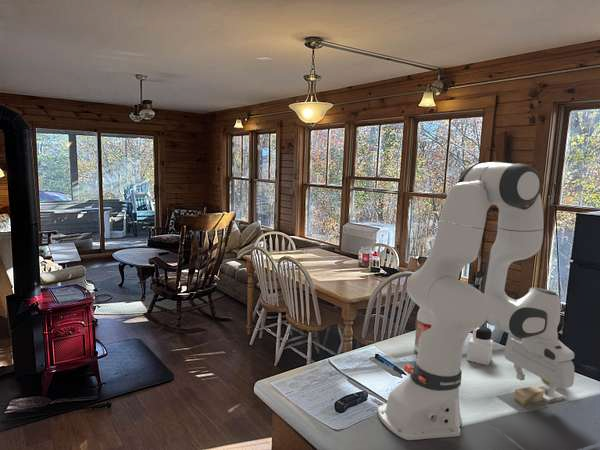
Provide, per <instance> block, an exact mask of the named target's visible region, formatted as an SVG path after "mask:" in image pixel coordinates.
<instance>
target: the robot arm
mask: <svg viewBox="0 0 600 450" xmlns="http://www.w3.org/2000/svg"><path fill="white" fill-rule="evenodd" d="M541 188H542V181H541V177H540V175H539V173H538V171H537V170H536V169H535V167H533V166H530V165H528V164H525V163H518V162H517V163H513V162H512V163H511V162H510V163H509V162H502V161H490V162H489V161H488V162H476V163H472V164H469V165H468V166H466V167H465V168H464V169H463V170H462V172H461V173H460V176H459V178H458V181H457V183H455V184H453V185H452V186H451V187H450V189H449V191H448V192H447V194H446V198H445V200H444V203H443V205H442V209H441V212H440V215H439V220H438V224H437V229H436V232H435V236H434V242H433V245H432V247H431V250H430V253H429V254H428V257H427V258H426V259H425V262H424V263H423V265H422V266H420V268H419V269H418V270H416V271H414V272H413V273H411V275H410V276H409V278H408V279H407V281H406V293H407V295H408V297H409V298H410V299H411V300H412V301H413V302H414V303H415V304H416V305H417V306H418V307H419V308H420V307H421V308H423V309H425V310H427V311H428V312H430V313H432V314H433V323H432V326H431V328H430V329H428V330H426V331H424V332H423V333H422V334H421V335H420V337H419V346H418V352H417V360H416V361H415V363H414V365H413V366H411V365H410V364H408V363H407V364H404V366H403V371H404V372H405V373H407V374H408V375H409V377H407V378H406V379H405V380H404V381H402V382H401V383H400V384H398V385H397V386H396V387H395V388H394V389H393V390H391V391H390V393H389V395H388V398H387V401H386V403H385V404H382V405H379V406H378V407H377V415H378V417H379V420H380V421H381V422H382V423H383V424H384V426H385V427H387V428H388V429H389V430H390V431H391V432H392V433H393V434H395V435H396V436H398V437H399V438H402V439H404V440H406V441H414V440H416V441H417V440H427V439H439V438H451V437H460V436H461V428H460V427H461V425H462V421H463V420H462V416H461V411H460V410H461V409H460V389H459V388H460V386H461V384H462V369H461V365H462V358H463V351H464V350H463V349H464V345H465V342H466V340H467V338H468V336H469V335H470V333H471V332H473V330H474V329H477V328H479V327H480V326H484V324H485V323H486V324H488V325H491V326H493V327H496V328H497V329H500V330H501V331H503V332H504V333H507V342H506V343H505V348H504V351H503V352H504V354H503V355H504V358H505V360H507V361H508V362H510V363H512V364H513V368H514V370H515V372H516V377H515V378H516V379H517V380H519V381H520V382H521V381H525V378H526V377H525V376H526V374H525V373H524V372H523V369H524V370H525V371H527V372H529V373H532V374H533V375H535V376H537V377H538V378H540V379H541V378H542V379H544V380H546V381H548V382H549V384H548V387H549V386H550V387H549V388H548V389H547V388H546V389H545V395H547V396H549V397H552V396H553V394H554V390H555V391H556V390H557V389H558V388H559V389H561V390H564V389H565V390H566V389H569V388H571V387H572V386H573V385H574V382H575V365H574V363H573V361H572V360H573V359H575V352H574V351H572V350H571V349H570V348H569V347H568V346H566V345H565V344H564V343H563V342H562V341H560V339H558V338H559V334H558V328H559V327H558V326H559V324H560V321H561V311H562V309H561V308H562V307H561V299H560V296H559V294H557V292H554V291H552V290H550V289H546V288H543V287H537V286H533V287H529V289H528V292H527V293H526V294H524V296H522V297H521V298H517V299H514V298H512V297H510V296H508V294H507V293H506V291H505V287H506V282H507V276H508V269H509V267H510V265H511V264H512V263H514V262H517V261H523V260H527V259H530V258H531V257H533V256H534V255H536V254H537V253H538V252H539V251H540V250H541V248H542V245H543V240H544V222H545V221H544V208H543V201H542V200H543V199H542V197H541V194H540V193H541ZM492 205H494V206H497V209H498V211H499V212H498V218H497V219H498V220H497V231H496V232H497V233H496V237H495V241H494V243H492V244H491V246H490V248H489V251H488V255H487V258H486V264H485V269H484V277H483V282H482V288H481V291H480V290H479V289H478V288H476V287H475V286H473V285H472V284H470V283H467V282H466V281H465V282H464V281H462V280H460V279H458V278H459V276H460V273H461V272H462V270H463V269H464V267H465V266H466V265H468V264H471V263H473V262H474V261H476V259H477V258H478V255H479V252H480V248H481V244H482V241H483V240H482V238H483V235H484V232H485V230H484V229H485V226H486V221H487V213H488V210H489V209H490V207H491V206H492Z"/></svg>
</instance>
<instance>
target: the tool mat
mask: <svg viewBox="0 0 600 450" xmlns="http://www.w3.org/2000/svg"><path fill="white" fill-rule="evenodd" d="M543 386H544V385H543ZM543 386H542V385H541V386H540V387H543ZM514 396H515V391H514V392H509V393H505V394H500V395H496V396H495V397H496V398H497V399H499V400H500V401H502V402H504V403H505V404H507V405H508V406H509V407H511V408H513V410H516V411H517V412H519V413H520V414H525V413H529V412H533V411H537V410H541V409H545V408H546V409H547V408H549V407H550V408H551V407H554V406H557V405H561V404H565V403H570V402H572V401H571V399H570V400H569V399H568V398H567V397H564V399H562V400H558V401H554V402H550V403H546V402H545V401H543V400H542V401H537V402H533V403H529V404H525V405H522V404H521V403H519V402H517V401H516V400H514Z"/></svg>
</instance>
